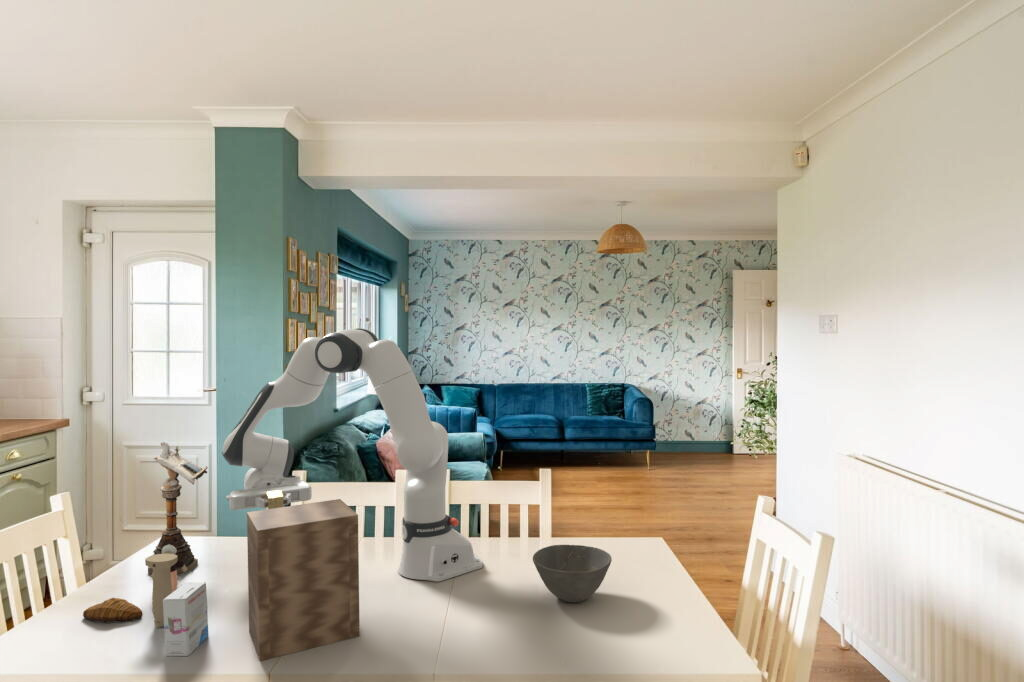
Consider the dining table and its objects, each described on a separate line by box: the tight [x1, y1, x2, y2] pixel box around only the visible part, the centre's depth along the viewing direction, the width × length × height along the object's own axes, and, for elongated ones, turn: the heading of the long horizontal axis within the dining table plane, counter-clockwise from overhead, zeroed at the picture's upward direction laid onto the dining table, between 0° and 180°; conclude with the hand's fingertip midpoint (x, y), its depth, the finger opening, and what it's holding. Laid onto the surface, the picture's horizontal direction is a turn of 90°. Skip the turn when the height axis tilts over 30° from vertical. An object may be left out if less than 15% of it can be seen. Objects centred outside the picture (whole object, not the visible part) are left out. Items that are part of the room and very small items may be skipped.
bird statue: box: [147, 441, 208, 576], centre depth 177 cm, size 17×13×35 cm
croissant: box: [82, 597, 143, 623], centre depth 147 cm, size 14×7×5 cm, turn 86°
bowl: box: [532, 544, 613, 603], centre depth 157 cm, size 19×19×10 cm
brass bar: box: [265, 490, 284, 510], centre depth 169 cm, size 4×23×4 cm
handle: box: [144, 554, 178, 629], centre depth 144 cm, size 5×6×15 cm
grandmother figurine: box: [150, 544, 187, 593], centre depth 158 cm, size 8×4×13 cm, turn 131°
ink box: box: [163, 581, 209, 657], centre depth 134 cm, size 9×5×12 cm, turn 178°
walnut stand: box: [246, 498, 361, 662], centre depth 139 cm, size 20×14×26 cm
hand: (276, 503), depth 165 cm, fingers closed on brass bar, 4 cm apart
